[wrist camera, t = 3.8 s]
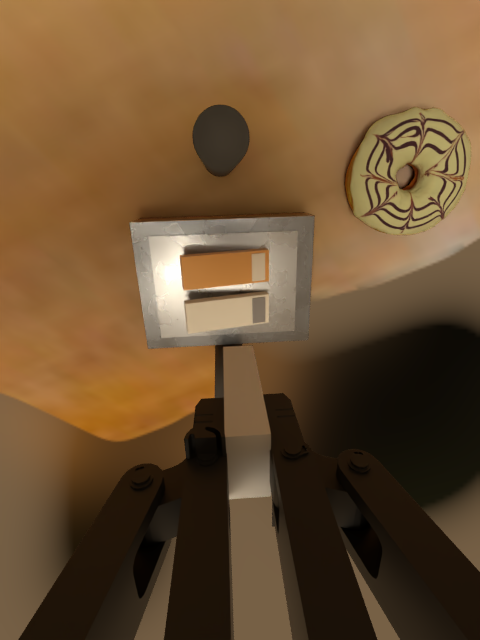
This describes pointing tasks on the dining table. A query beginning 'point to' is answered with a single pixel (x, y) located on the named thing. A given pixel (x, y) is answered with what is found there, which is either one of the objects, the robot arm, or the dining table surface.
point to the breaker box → (218, 236)
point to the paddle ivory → (226, 311)
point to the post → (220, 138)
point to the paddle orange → (224, 268)
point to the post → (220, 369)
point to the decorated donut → (428, 164)
